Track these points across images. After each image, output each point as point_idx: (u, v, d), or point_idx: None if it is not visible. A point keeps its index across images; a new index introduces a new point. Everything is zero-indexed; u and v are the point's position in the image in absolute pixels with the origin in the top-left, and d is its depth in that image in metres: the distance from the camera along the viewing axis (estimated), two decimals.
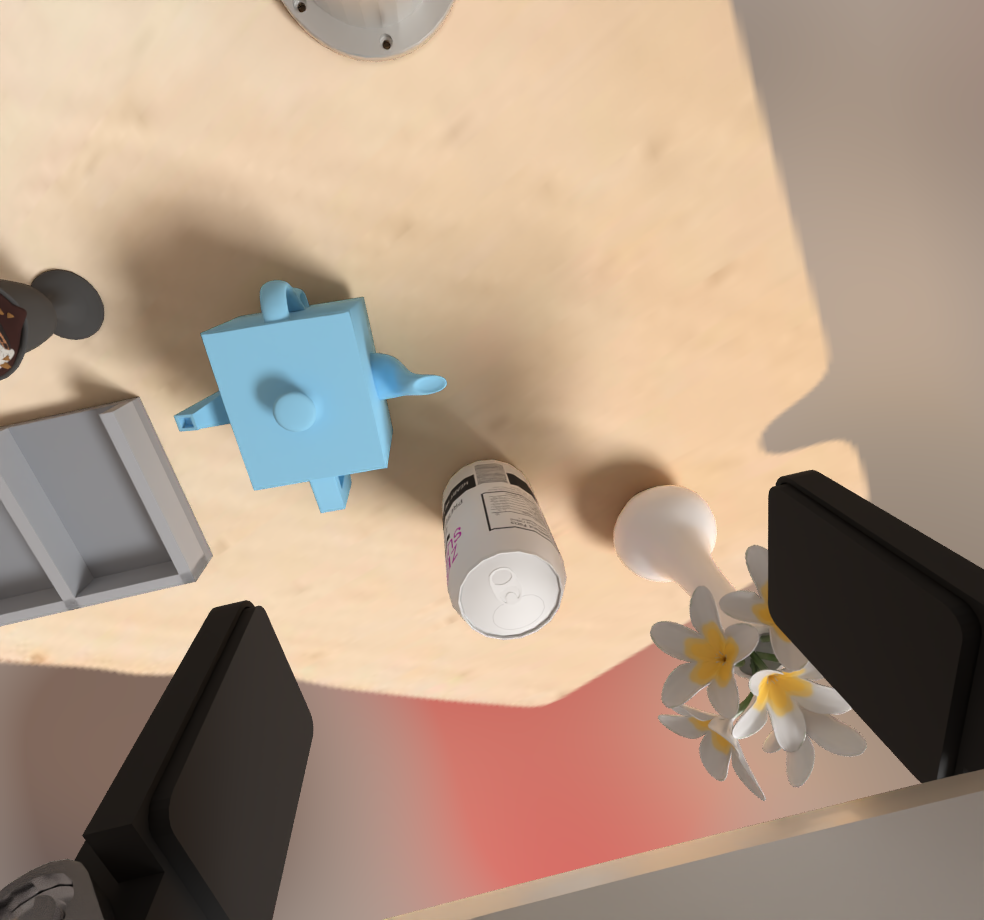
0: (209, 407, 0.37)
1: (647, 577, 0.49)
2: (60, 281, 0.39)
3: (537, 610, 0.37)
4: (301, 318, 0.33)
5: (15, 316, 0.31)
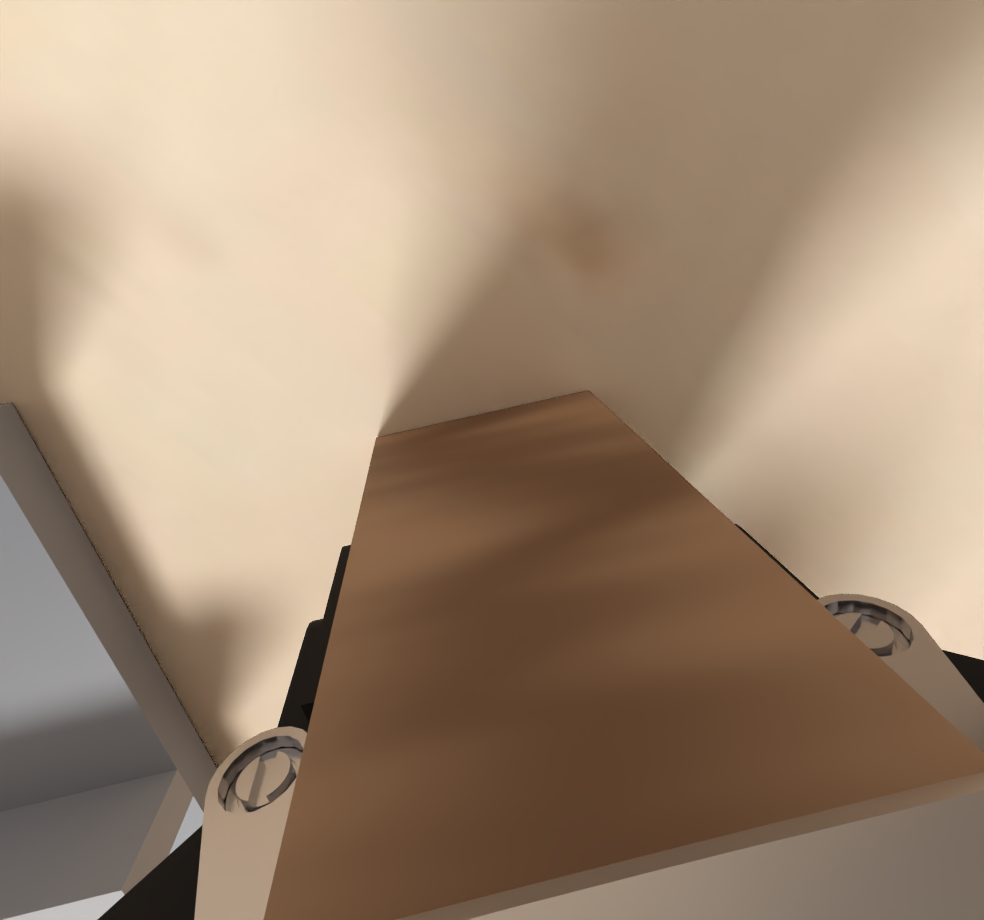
0: None
1: None
2: None
3: None
4: None
5: None
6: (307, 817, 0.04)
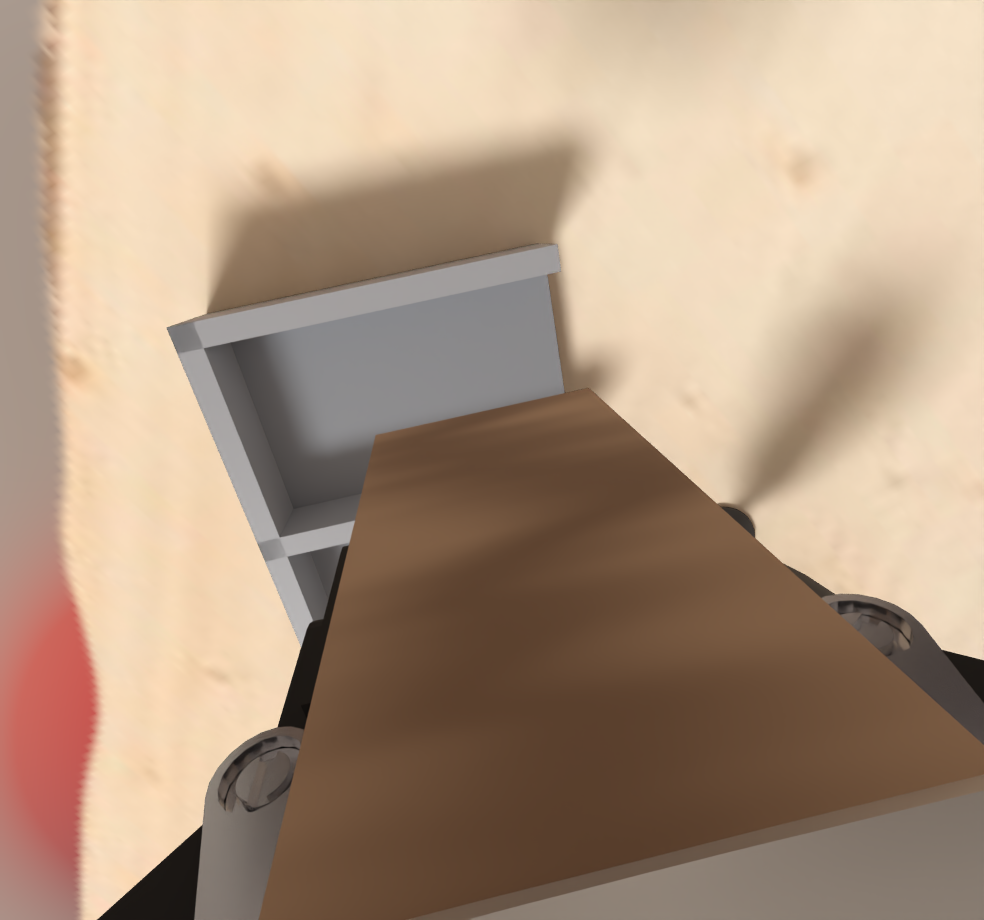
0: None
1: None
2: None
3: None
4: None
5: None
6: (304, 812, 0.04)
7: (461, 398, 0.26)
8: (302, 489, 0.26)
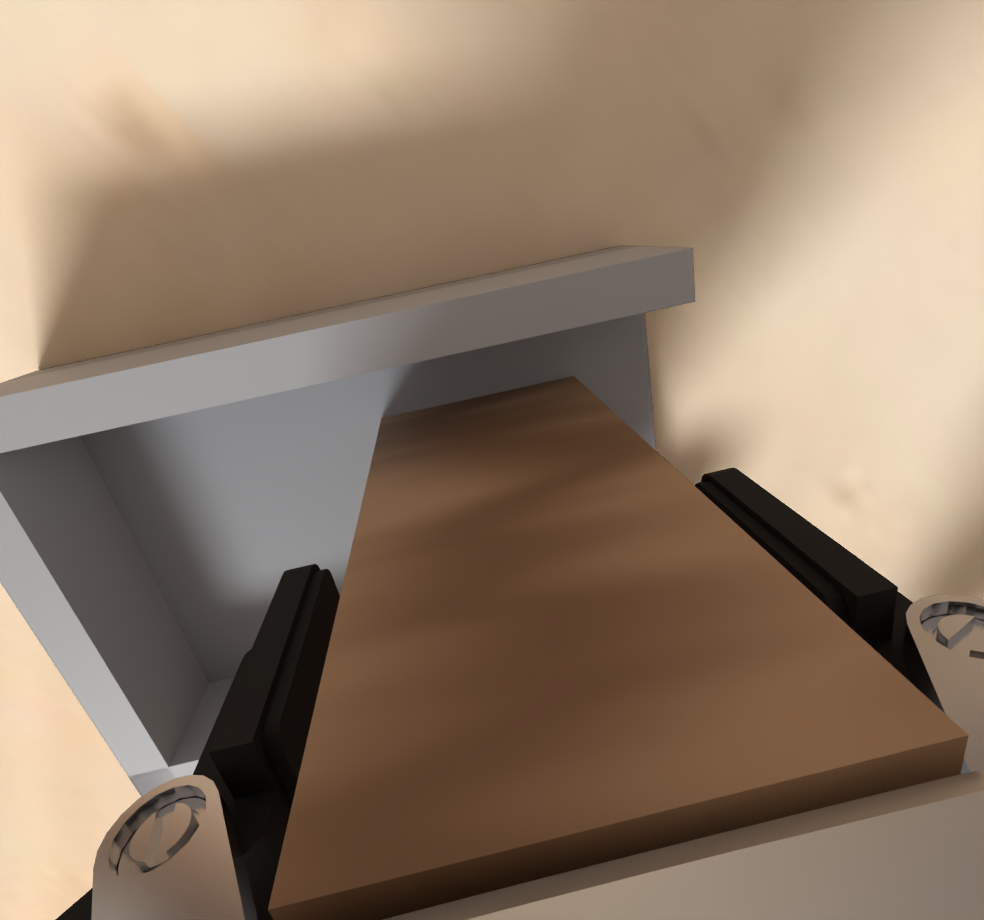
0: None
1: None
2: None
3: None
4: None
5: None
6: (336, 679, 0.06)
7: None
8: (223, 654, 0.16)
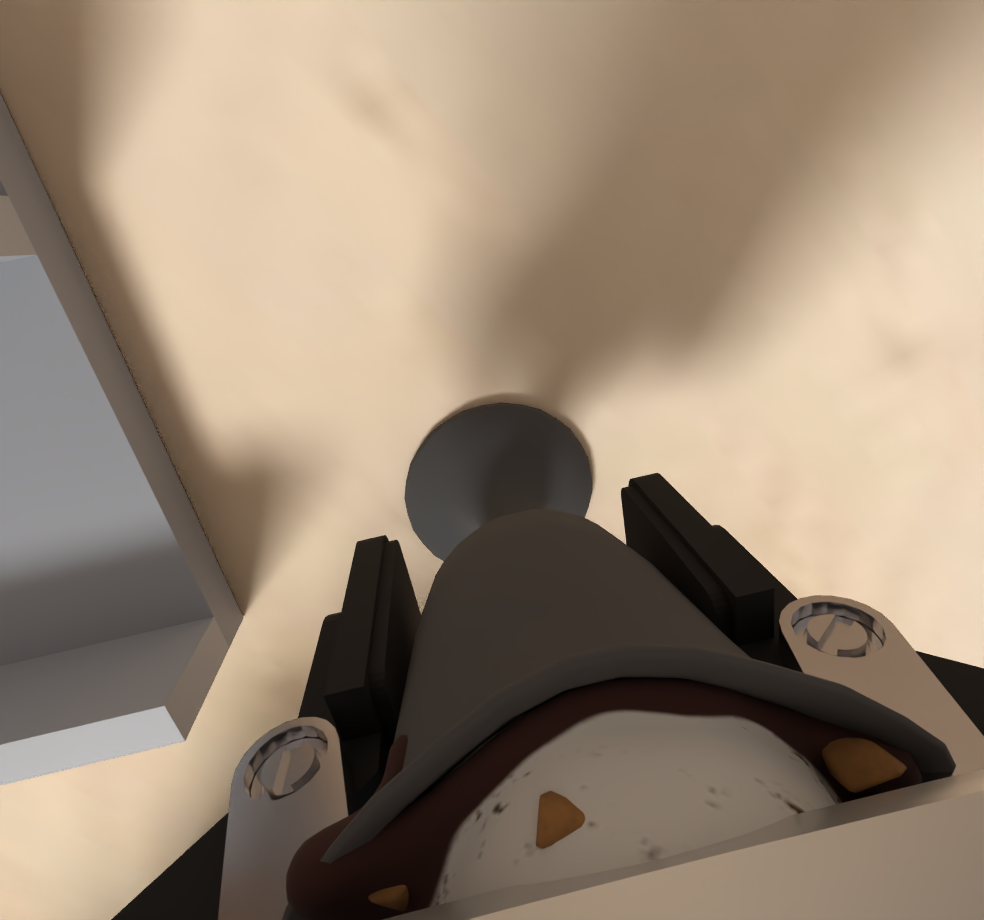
0: None
1: None
2: (565, 504, 0.14)
3: None
4: None
5: None
6: None
7: None
8: None
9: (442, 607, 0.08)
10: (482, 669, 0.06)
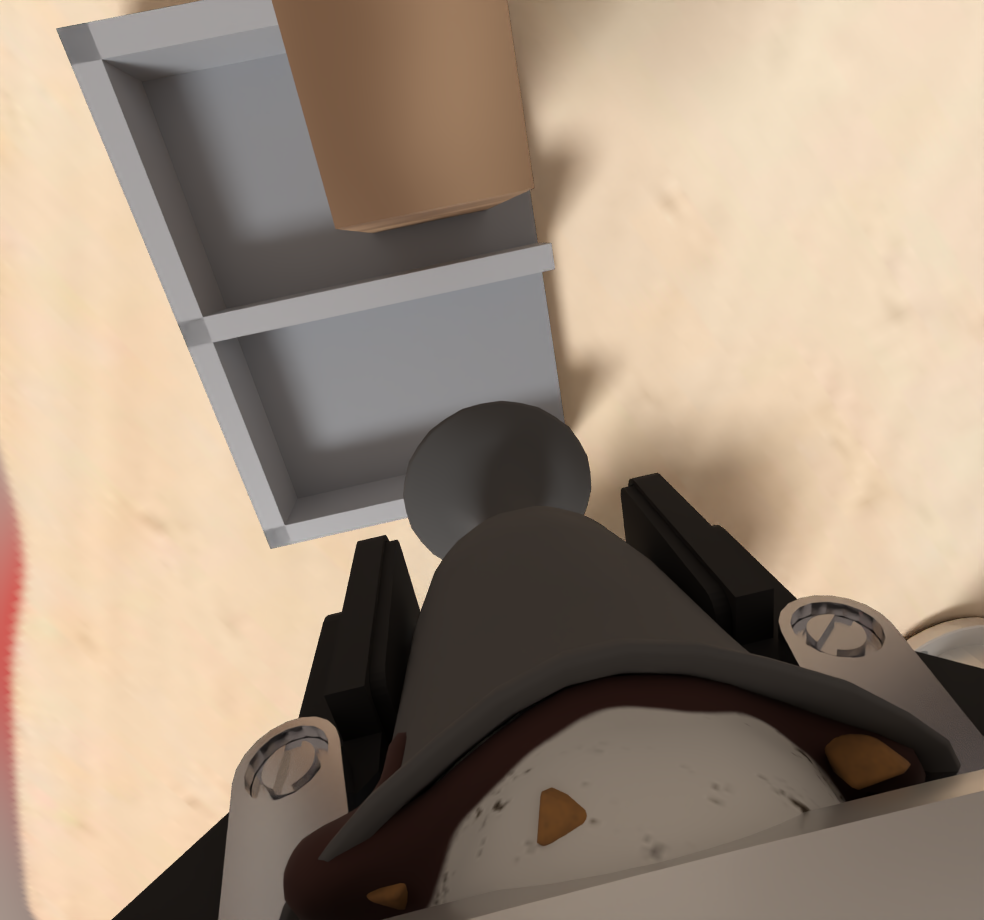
0: None
1: None
2: (564, 502, 0.14)
3: None
4: None
5: None
6: None
7: None
8: (236, 284, 0.24)
9: (440, 604, 0.08)
10: (481, 666, 0.06)
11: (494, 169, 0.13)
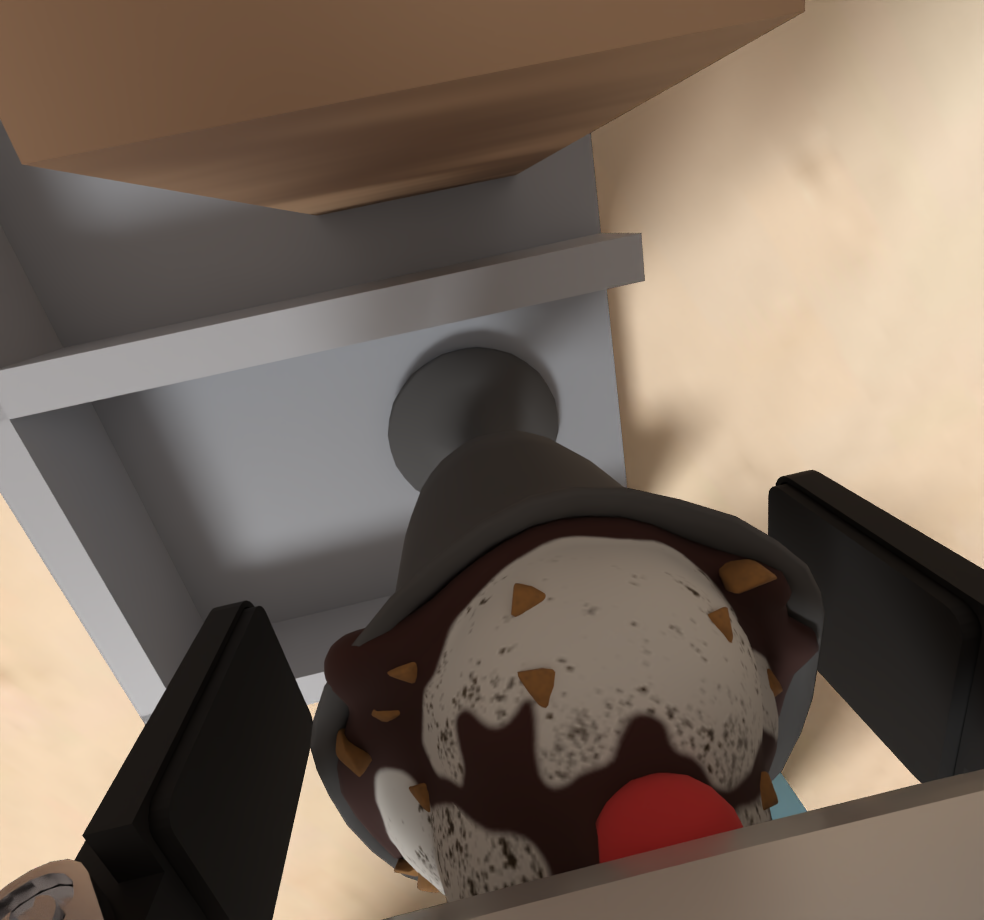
0: None
1: None
2: None
3: None
4: None
5: None
6: None
7: None
8: (76, 305, 0.13)
9: (430, 503, 0.09)
10: (467, 531, 0.07)
11: None
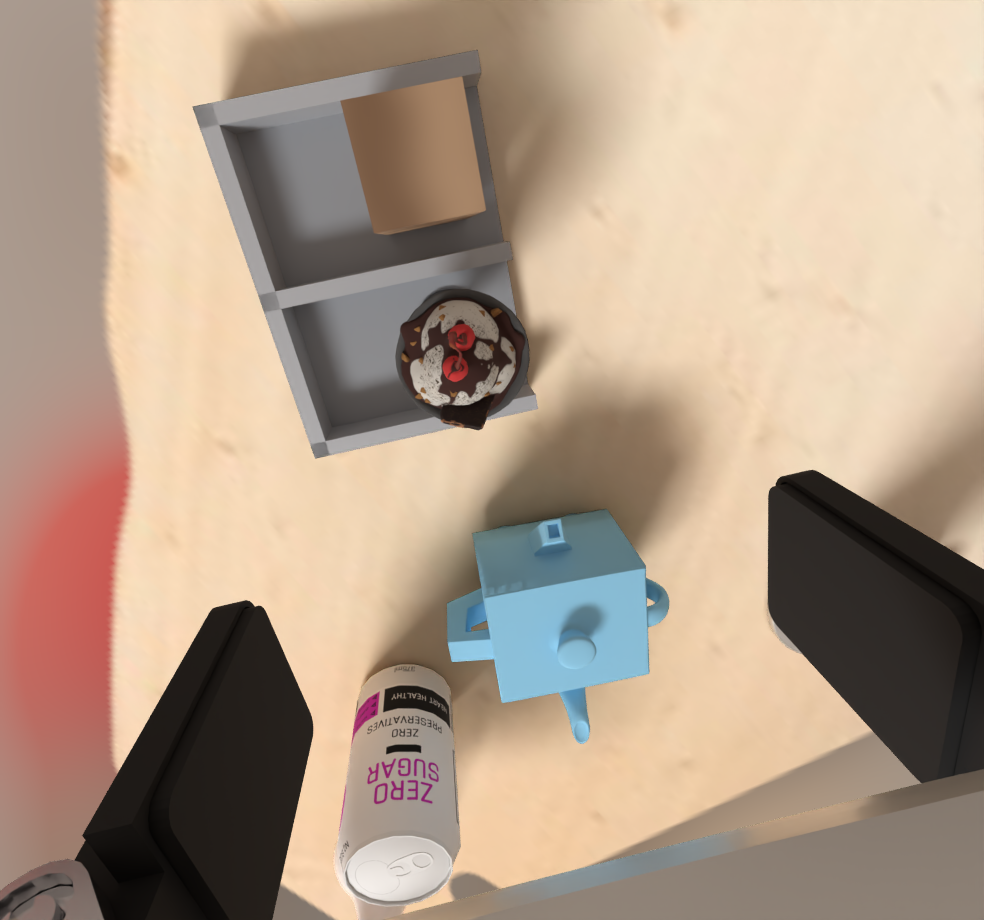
0: (562, 542, 0.36)
1: None
2: None
3: (380, 890, 0.36)
4: (647, 640, 0.38)
5: None
6: None
7: None
8: (293, 270, 0.34)
9: None
10: None
11: (463, 199, 0.24)
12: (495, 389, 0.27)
